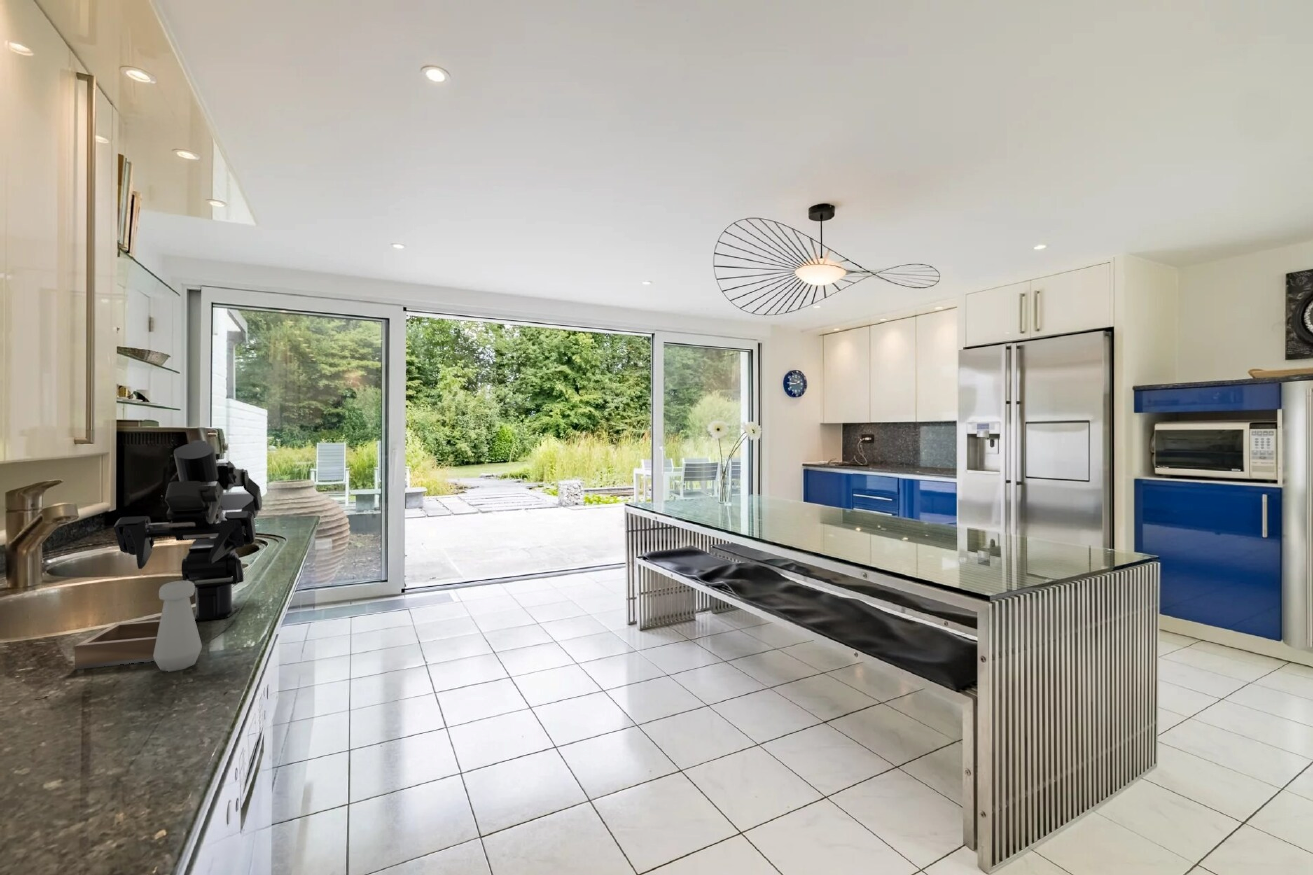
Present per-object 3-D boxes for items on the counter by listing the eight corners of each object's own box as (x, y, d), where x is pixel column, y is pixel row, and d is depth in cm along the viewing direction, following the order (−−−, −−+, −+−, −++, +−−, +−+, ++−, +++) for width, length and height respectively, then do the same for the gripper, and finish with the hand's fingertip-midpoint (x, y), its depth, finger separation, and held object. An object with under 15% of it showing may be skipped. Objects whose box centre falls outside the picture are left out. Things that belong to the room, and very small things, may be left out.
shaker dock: (115, 644, 100) (115, 623, 100) (192, 637, 103) (192, 617, 103) (74, 669, 90) (74, 645, 90) (162, 660, 93) (161, 637, 93)
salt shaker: (211, 659, 93) (210, 578, 93) (178, 674, 88) (177, 587, 87) (177, 658, 94) (176, 577, 94) (143, 673, 88) (142, 586, 88)
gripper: (123, 470, 99) (87, 529, 87) (255, 467, 107) (238, 520, 95) (137, 522, 105) (105, 584, 92) (261, 515, 112) (247, 572, 100)
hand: (175, 563), depth 95 cm, fingers open, 9 cm apart
